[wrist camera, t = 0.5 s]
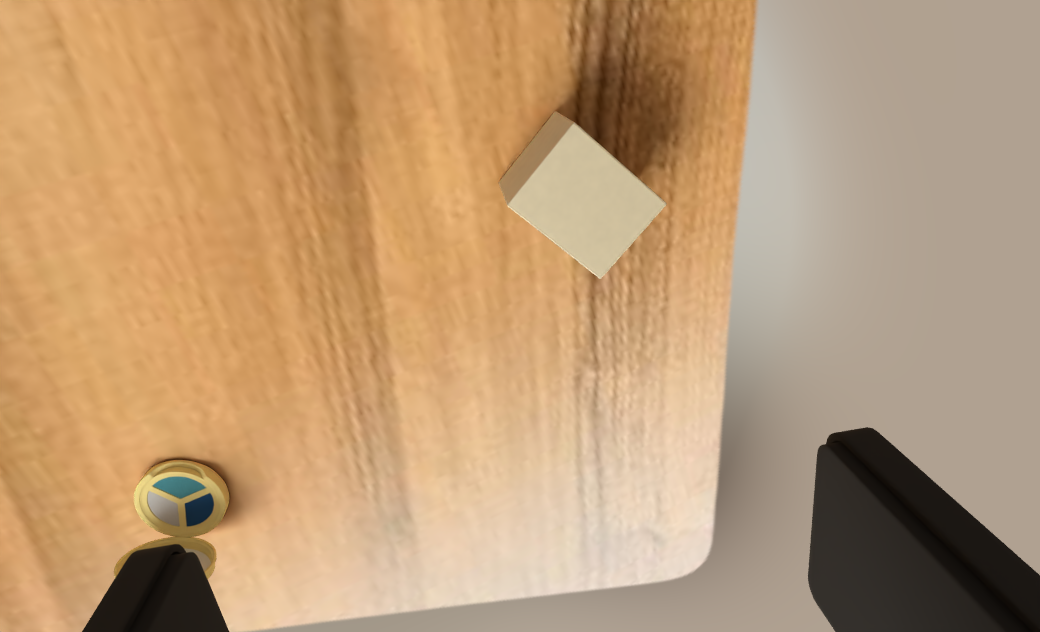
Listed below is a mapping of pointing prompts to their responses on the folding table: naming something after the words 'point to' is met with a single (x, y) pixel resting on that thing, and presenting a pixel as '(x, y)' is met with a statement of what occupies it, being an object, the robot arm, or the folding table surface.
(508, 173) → the beige block
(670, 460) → the folding table surface
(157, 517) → the eyeshadow
